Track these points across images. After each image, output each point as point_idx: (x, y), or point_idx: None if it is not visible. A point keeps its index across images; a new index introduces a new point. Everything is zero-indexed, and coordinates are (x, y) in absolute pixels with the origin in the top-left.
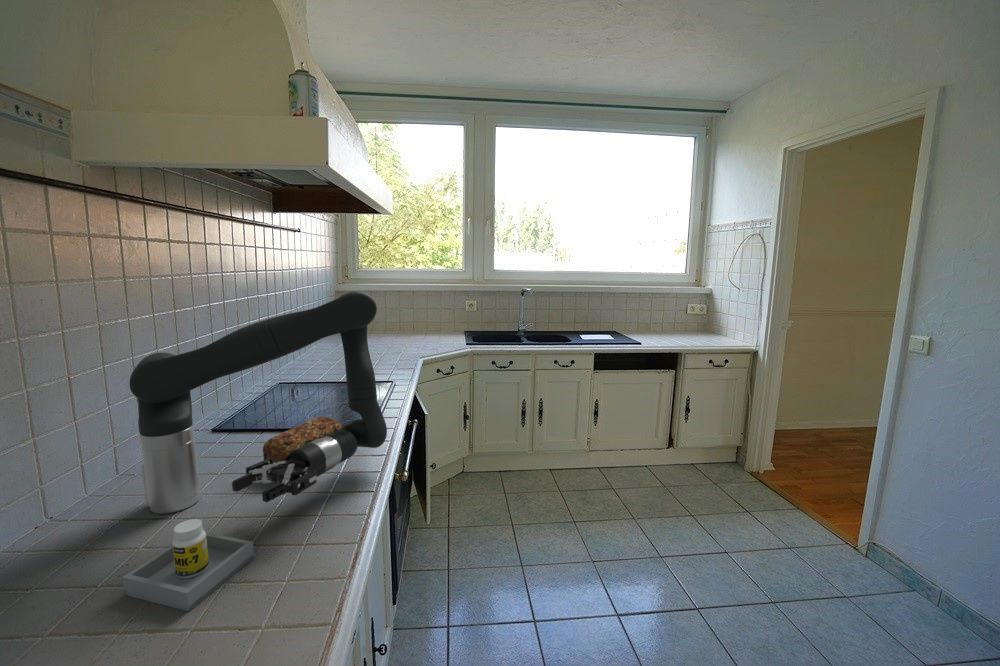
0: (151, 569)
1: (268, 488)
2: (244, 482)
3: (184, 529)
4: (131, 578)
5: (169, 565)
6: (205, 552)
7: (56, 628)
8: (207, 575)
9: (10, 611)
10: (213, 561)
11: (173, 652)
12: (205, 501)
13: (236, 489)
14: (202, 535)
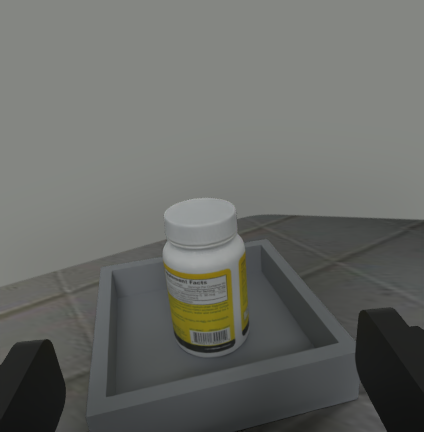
0: (276, 280)
1: (22, 371)
2: (399, 404)
3: (188, 205)
4: (246, 242)
5: (283, 315)
6: (171, 303)
7: (266, 232)
8: (103, 296)
9: (360, 218)
10: (196, 369)
11: (61, 273)
12: None
13: (359, 363)
14: (168, 253)
